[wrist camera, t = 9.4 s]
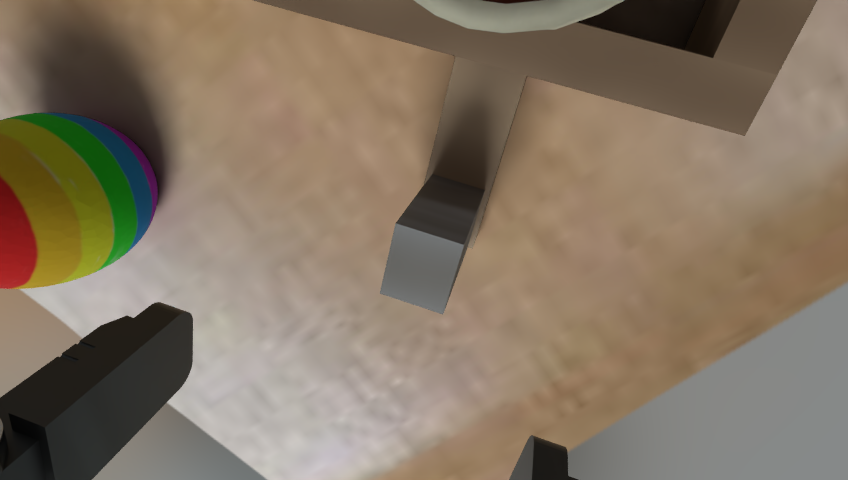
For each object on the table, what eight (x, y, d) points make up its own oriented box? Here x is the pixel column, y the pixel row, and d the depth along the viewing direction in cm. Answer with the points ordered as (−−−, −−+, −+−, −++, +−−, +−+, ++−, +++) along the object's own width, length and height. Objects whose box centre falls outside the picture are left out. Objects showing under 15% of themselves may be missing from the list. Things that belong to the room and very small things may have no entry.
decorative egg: (201, 232, 29) (46, 330, 20) (94, 248, 31) (-87, 342, 23) (141, 87, 26) (-72, 127, 17) (28, 118, 28) (-210, 166, 20)
